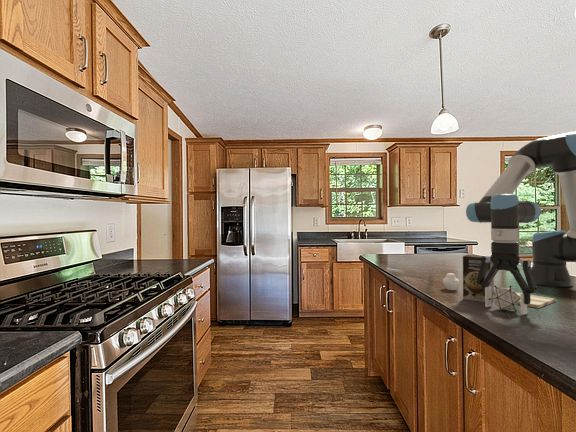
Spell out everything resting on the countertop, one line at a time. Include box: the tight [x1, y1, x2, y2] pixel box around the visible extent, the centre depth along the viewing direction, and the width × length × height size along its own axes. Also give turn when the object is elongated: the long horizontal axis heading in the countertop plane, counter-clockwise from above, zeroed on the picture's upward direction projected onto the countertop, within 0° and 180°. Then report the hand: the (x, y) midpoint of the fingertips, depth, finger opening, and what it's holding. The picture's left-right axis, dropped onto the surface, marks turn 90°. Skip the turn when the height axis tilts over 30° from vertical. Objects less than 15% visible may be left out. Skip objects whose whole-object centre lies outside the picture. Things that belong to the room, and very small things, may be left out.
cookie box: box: [462, 254, 495, 303], centre depth 120 cm, size 9×6×16 cm
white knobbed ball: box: [442, 272, 460, 291], centre depth 136 cm, size 6×6×7 cm
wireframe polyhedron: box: [488, 285, 520, 313], centre depth 106 cm, size 9×8×10 cm
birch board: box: [515, 291, 556, 309], centre depth 117 cm, size 14×13×1 cm
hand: (505, 310), depth 106 cm, fingers open, 10 cm apart
